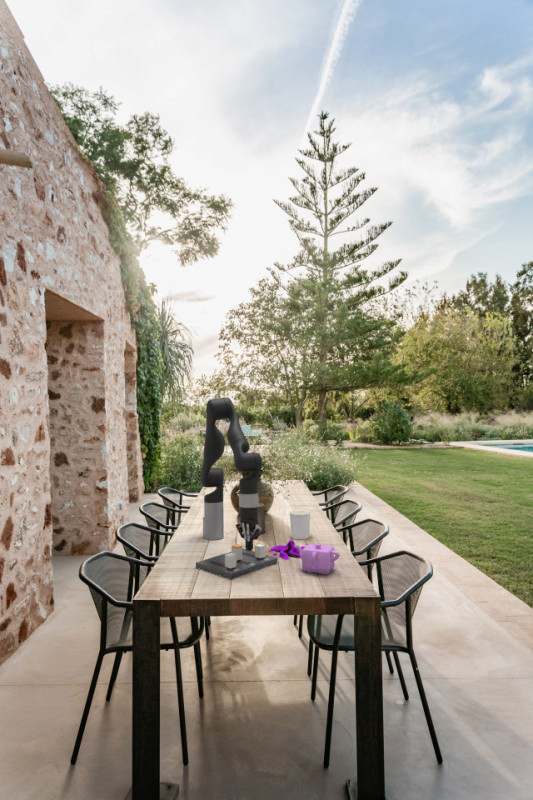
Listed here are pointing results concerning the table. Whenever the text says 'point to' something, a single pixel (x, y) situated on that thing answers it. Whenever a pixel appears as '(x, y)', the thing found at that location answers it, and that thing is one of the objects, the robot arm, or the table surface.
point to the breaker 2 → (260, 551)
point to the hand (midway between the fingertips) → (249, 550)
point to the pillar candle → (261, 517)
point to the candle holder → (300, 524)
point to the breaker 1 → (230, 560)
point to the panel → (242, 566)
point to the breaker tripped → (237, 551)
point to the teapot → (318, 558)
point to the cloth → (286, 550)
